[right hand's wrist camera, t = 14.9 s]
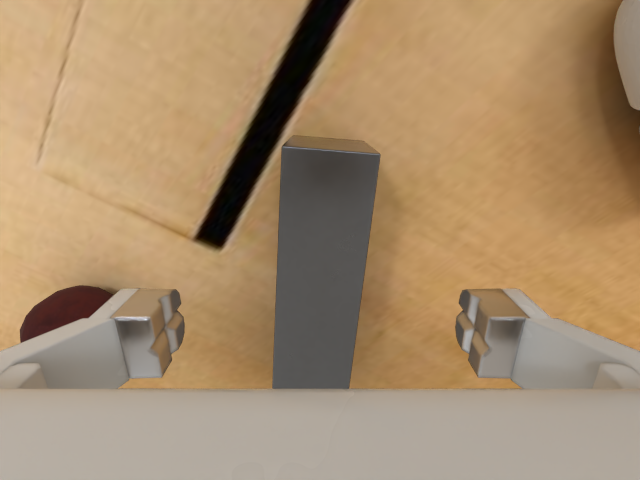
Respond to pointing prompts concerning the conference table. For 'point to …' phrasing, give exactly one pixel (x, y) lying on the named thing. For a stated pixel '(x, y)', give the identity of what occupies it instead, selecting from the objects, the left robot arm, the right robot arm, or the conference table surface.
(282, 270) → the bar
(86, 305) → the potato
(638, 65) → the grey slotted rounded shell
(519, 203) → the conference table surface
